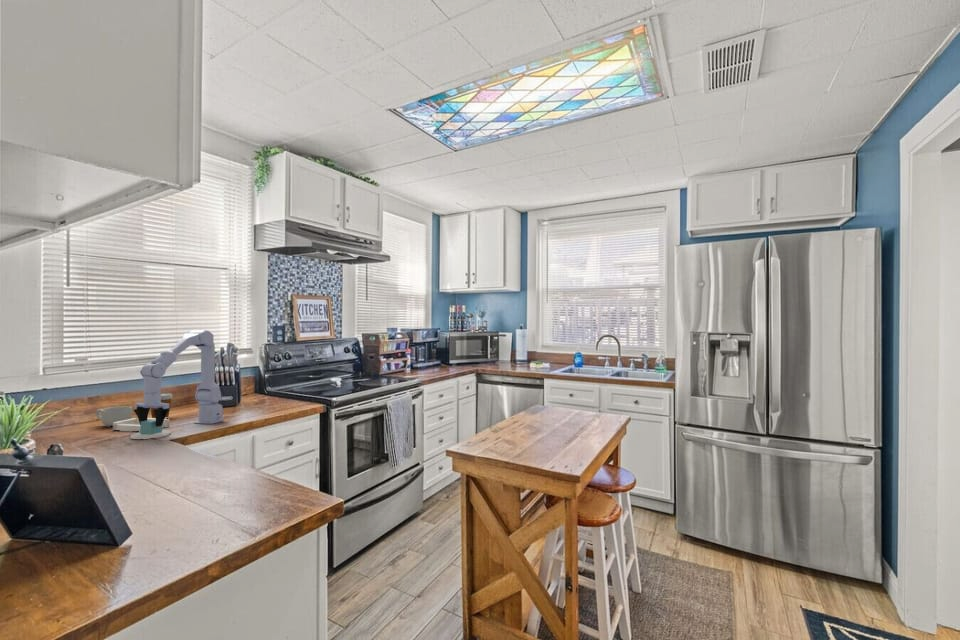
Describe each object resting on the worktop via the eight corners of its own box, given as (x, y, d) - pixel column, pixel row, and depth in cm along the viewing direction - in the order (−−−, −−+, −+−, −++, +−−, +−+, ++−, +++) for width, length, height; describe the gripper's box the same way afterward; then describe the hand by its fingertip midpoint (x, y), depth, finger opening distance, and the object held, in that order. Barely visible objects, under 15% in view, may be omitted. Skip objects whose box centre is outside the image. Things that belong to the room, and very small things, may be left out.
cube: (161, 431, 176) (162, 419, 176) (150, 434, 171) (151, 422, 171) (151, 431, 177) (151, 419, 177) (140, 434, 172) (140, 421, 172)
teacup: (137, 423, 197) (138, 406, 197) (115, 428, 186) (116, 410, 186) (110, 422, 198) (111, 405, 198) (87, 427, 187) (87, 409, 188)
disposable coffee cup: (142, 420, 203) (143, 395, 204) (162, 416, 212) (163, 392, 213) (157, 421, 201) (158, 396, 201) (176, 418, 210) (177, 393, 210)
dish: (178, 433, 178) (178, 430, 178) (149, 440, 165) (149, 438, 165) (151, 431, 180) (151, 429, 180) (121, 439, 167) (121, 436, 167)
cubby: (169, 426, 190) (169, 418, 190) (146, 432, 179) (146, 423, 179) (137, 425, 193) (137, 417, 193) (112, 430, 182) (113, 422, 182)
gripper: (127, 393, 172) (126, 427, 171) (158, 394, 169) (157, 428, 169) (144, 391, 179) (143, 423, 178) (174, 392, 176) (173, 424, 176)
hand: (151, 425), depth 174 cm, fingers open, 7 cm apart
